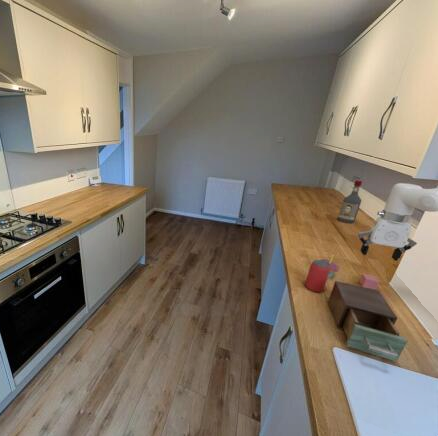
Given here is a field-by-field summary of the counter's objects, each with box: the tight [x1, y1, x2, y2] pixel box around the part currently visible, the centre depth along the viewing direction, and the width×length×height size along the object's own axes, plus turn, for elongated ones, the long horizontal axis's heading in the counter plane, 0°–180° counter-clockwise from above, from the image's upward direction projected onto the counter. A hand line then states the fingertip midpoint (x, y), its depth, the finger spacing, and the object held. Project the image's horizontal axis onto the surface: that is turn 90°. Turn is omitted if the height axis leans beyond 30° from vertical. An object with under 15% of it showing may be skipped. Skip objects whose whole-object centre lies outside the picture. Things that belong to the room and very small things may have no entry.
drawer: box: [342, 308, 408, 362], centre depth 72 cm, size 18×11×8 cm, turn 154°
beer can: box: [304, 259, 330, 293], centre depth 98 cm, size 7×7×12 cm
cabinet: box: [327, 280, 398, 330], centre depth 82 cm, size 15×13×10 cm
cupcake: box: [321, 253, 340, 279], centre depth 107 cm, size 9×8×12 cm
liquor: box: [337, 180, 363, 224], centre depth 171 cm, size 9×9×30 cm
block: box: [359, 273, 380, 290], centre depth 101 cm, size 4×4×4 cm
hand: (378, 256), depth 95 cm, fingers open, 9 cm apart
